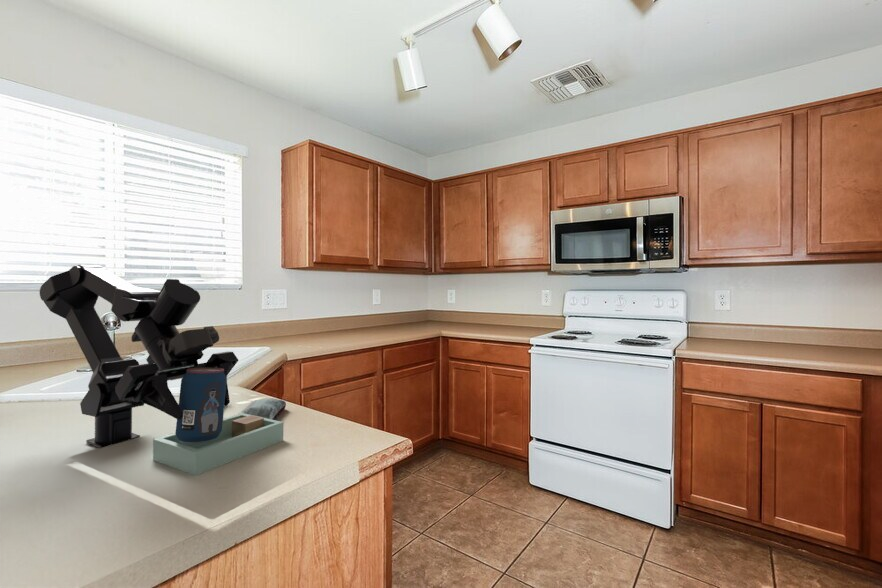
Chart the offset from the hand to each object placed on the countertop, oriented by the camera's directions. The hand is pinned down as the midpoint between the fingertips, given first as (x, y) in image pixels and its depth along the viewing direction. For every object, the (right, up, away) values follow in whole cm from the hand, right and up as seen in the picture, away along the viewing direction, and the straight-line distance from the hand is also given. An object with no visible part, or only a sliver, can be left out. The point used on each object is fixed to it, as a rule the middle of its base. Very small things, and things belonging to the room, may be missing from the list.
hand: (205, 410), depth 68 cm
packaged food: (-1, -10, +23) cm, 26 cm away
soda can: (-2, -5, +1) cm, 6 cm away
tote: (0, -9, +4) cm, 10 cm away
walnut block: (+3, -8, +9) cm, 13 cm away
